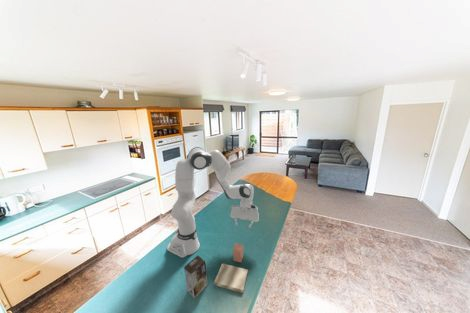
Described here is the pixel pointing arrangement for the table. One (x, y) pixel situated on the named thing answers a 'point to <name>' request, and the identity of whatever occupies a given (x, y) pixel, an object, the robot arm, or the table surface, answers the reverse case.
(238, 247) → the brick block
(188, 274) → the coffee box
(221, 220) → the table surface
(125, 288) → the table surface
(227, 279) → the birch board
